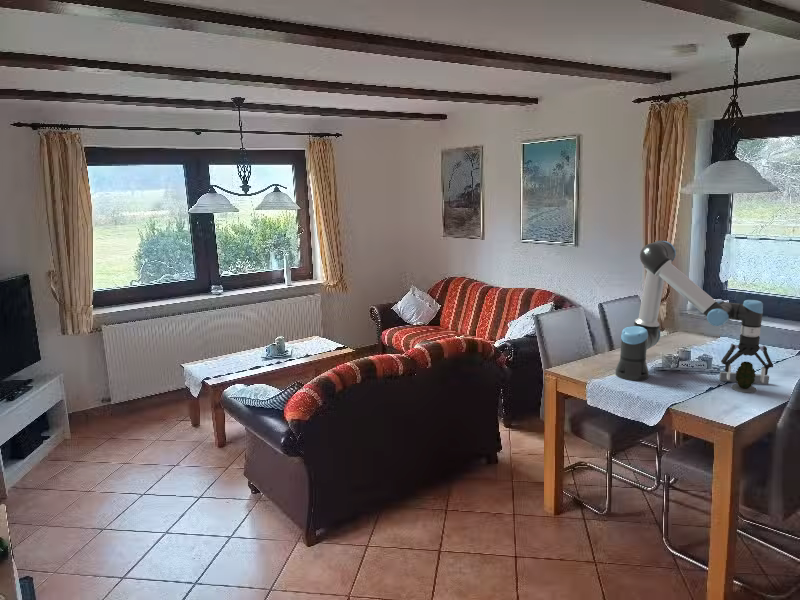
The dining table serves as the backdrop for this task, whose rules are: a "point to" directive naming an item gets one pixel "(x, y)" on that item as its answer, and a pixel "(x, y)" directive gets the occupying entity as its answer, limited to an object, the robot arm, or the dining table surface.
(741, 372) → the grenade
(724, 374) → the low wall
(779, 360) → the dining table surface
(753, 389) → the pad
